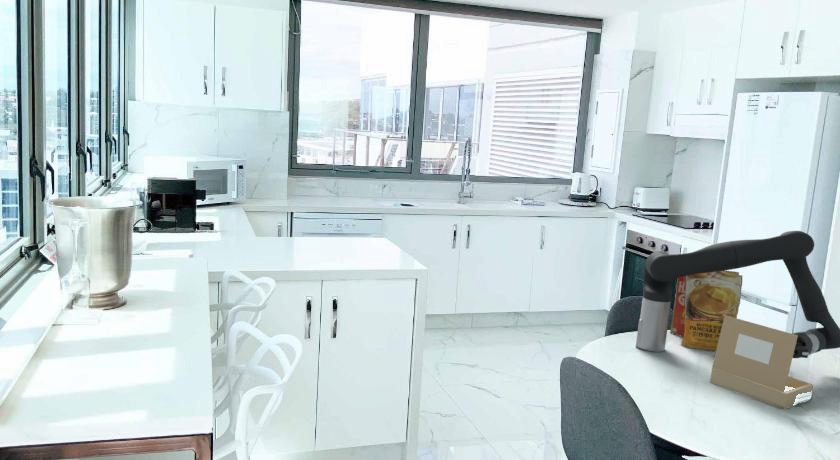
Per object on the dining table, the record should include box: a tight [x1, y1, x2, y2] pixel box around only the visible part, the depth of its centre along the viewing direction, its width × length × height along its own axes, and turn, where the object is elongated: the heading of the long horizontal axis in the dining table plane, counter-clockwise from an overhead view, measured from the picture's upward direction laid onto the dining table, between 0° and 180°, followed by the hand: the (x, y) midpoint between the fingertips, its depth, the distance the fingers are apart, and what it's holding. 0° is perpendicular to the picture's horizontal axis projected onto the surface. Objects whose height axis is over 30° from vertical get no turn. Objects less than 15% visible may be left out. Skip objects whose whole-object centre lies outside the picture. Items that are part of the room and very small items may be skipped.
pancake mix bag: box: [680, 270, 743, 353], centre depth 242 cm, size 7×19×28 cm, turn 77°
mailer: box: [709, 367, 815, 410], centre depth 204 cm, size 16×22×4 cm
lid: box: [711, 315, 798, 392], centre depth 198 cm, size 16×21×1 cm
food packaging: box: [669, 276, 686, 337], centre depth 257 cm, size 13×9×25 cm
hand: (772, 351), depth 205 cm, fingers closed
